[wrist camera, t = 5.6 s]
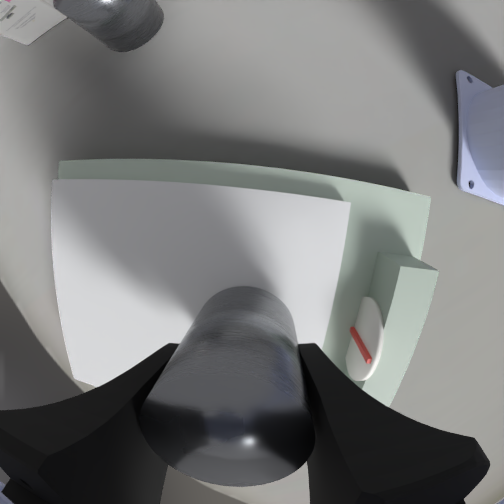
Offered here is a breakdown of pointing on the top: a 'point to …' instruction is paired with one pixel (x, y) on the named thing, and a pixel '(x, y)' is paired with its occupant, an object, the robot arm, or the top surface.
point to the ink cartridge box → (27, 19)
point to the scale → (236, 260)
